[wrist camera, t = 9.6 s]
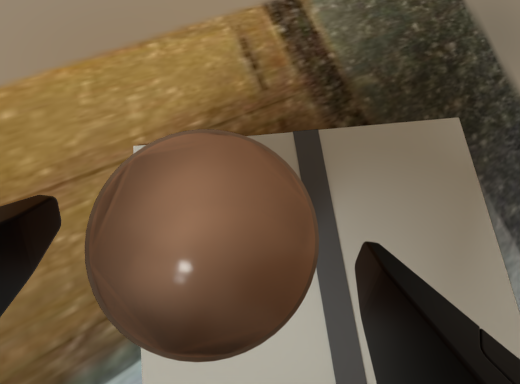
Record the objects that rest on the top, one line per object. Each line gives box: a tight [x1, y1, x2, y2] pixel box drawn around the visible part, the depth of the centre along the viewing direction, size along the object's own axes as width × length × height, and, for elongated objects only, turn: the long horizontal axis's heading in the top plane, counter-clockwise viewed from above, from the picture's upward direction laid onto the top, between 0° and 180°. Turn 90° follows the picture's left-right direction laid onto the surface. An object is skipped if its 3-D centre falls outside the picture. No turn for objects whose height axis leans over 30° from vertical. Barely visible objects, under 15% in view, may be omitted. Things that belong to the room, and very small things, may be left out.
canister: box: [85, 129, 319, 362], centre depth 13 cm, size 6×6×10 cm
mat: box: [133, 117, 520, 384], centre depth 18 cm, size 19×21×1 cm
